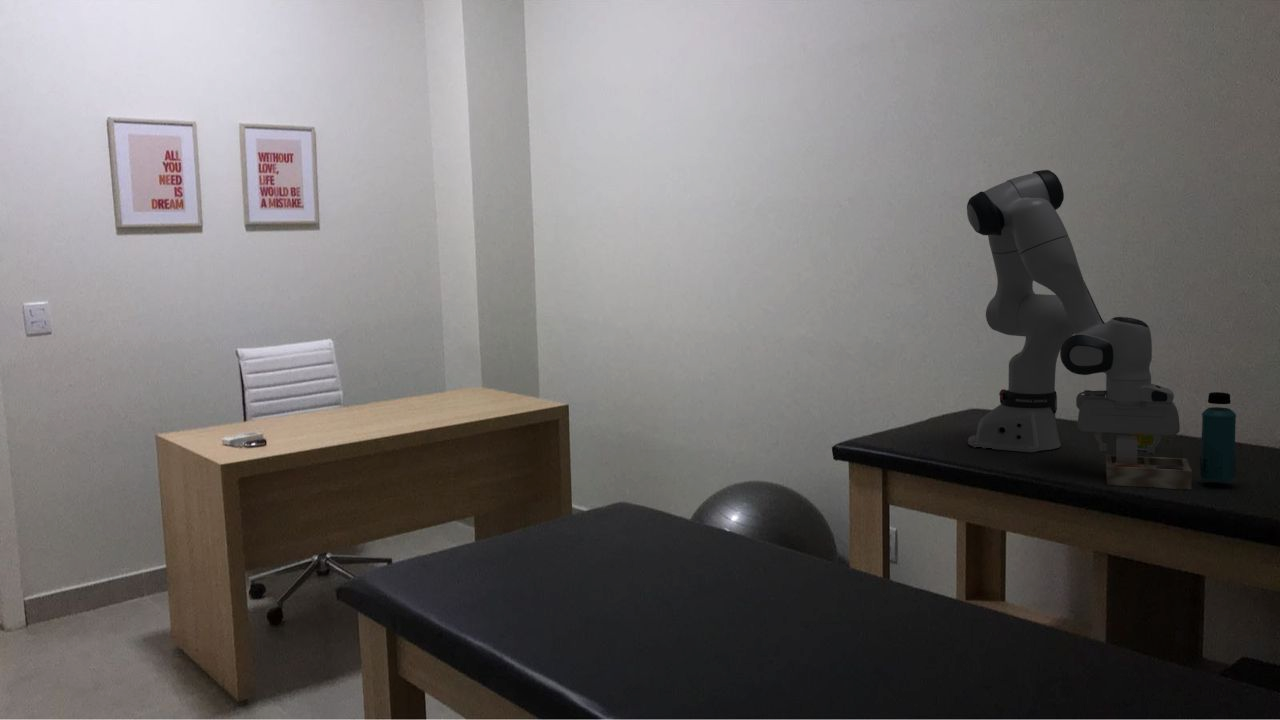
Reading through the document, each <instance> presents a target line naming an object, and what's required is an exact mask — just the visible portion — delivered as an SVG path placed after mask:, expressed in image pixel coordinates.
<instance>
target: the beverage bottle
mask: <svg viewBox="0 0 1280 720" xmlns="http://www.w3.org/2000/svg"><path fill="white" fill-rule="evenodd" d="M1207 403H1208V404H1213V405H1214V404H1215V405H1230V404H1231V394H1230V393H1229V392H1219V391H1218V392H1214V391H1213V392H1209V393H1208V397H1207ZM1201 416H1202V418H1201V420H1202V421H1201V423H1202V424H1201V430H1200V431H1201V436H1200V437H1201V438H1200V439H1201V445H1200V452H1199V453H1200V454H1201V455H1200V456H1199V462H1200V463H1199V466H1200V468H1199V470H1200V473H1199V475H1200V476H1201V479H1202V480H1205V481H1207V482H1208V481H1209V482H1215V483H1216V482H1217V483H1230V482H1233V481H1234V480H1235V473H1236V454H1237V452H1236V444H1237V443H1236V421H1237V420H1236V419H1237V414H1236V413H1235V412H1234V410H1233V409H1231V408H1228V407H1218V406H1217V407H1216V406H1214V407H1213V406H1211V407H1208V408H1206V409H1205V410H1204V411H1203V412H1201Z"/></svg>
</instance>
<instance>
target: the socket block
mask: <svg viewBox="0 0 1280 720" xmlns="http://www.w3.org/2000/svg"><path fill="white" fill-rule="evenodd" d="M1105 476H1106V485H1107V486H1122V487H1124V486H1125V487H1135V488H1136V487H1137V486H1138V488H1140V487H1141V488H1152V487H1153V489H1154V488H1157V489H1168V490H1169V489H1171V490H1173V489H1175V490H1185V489H1187V490H1188V491H1192V478H1193V471H1192V468H1191V466H1190V464H1189V462H1188V459H1187V458H1184V457H1183V458H1180V457H1179V458H1178V457H1161V456H1160V457H1159V456H1158V457H1157V456H1142V455H1141V456H1140V455H1139V456H1138V455H1137V464H1135V463H1116V454H1105ZM1187 490H1186V491H1187Z"/></svg>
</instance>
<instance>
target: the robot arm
mask: <svg viewBox="0 0 1280 720" xmlns="http://www.w3.org/2000/svg"><path fill="white" fill-rule="evenodd" d="M1064 199H1065V193H1064V188H1063V185H1062V182H1061V180H1060V178H1059V176H1058V175H1057V174H1056V173H1054V172H1053V171H1051V170H1050V169H1042V170H1035V171H1032V173H1028V174H1024V175H1020V176H1017V177H1014V178H1011V179H1008V180H1006V181H1004V182H1002V183H1000V184H997V185H994V186H992V187H991V188H988V189H986V190H985V191H980V192H977V193H976V194H974V195H973V196H971V197H970V198H969V199H968V202H967V203H966V212H967V213H966V214H967V219H968V222H969V224H970V226H971V227H972V228H973V230H974V231H975V232H976V233H977V234H980V235H982V236H987V237H988V243H989V248H990V251H991V255H992V261H993V263H994V268H995V273H996V278H997V279H996V280H997V285H996V286H997V287H996V292H995V294H994V296H993V297H992V299H990V301H989V303H988V304H987V306H986V311H985V319H986V323H987V324H988V326H989V328H990V329H992V330H993V331H995V332H998V333H1001V334H1004V335H1007V336H1013V337H1015V336H1016V337H1024V338H1025V341H1024V345H1023V347H1022V349H1021V351H1019V352H1017V353H1016V354H1014V355H1013V356H1012V357H1011V358H1010V360H1009V361H1008V389H1006V388H1005V389H1001V390H999V394H998V395H999V402H1000V403H999V405H997V406H996V407H994V408H993V409H992V410H990V411H989V412H988V413H986V414H984V415H983V416H982V417H981V419H980V420H979V422H978V425H977V428H976V434H973V435H970V436H969V437H968V439H967V444H969V445H971V446H973V447H972V448H976V447H982V448H981V449H986V448H992V449H991V450H998V451H1009V452H1011V451H1012V452H1021V453H1022V452H1023V453H1036V452H1039V451H1049V450H1055V449H1058V448H1060V447H1061V446H1062V444H1061V441H1060V437H1059V433H1058V428H1057V427H1058V426H1057V420H1056V418H1057V417H1056V414H1057V410H1058V395H1057V391H1056V390H1055V389H1056V388H1055V387H1056V367H1057V362H1058V357H1059V355H1060V361H1061V362H1062V364H1063V366H1064V367H1065V369H1067V371H1069V372H1071V373H1073V374H1075V375H1080V376H1089V375H1094V374H1100V373H1103V374H1105V377H1106V379H1105V380H1106V382H1105V390H1089V389H1088V390H1087V389H1086V390H1083V391H1081V392H1079V393H1078V394H1077V395H1076V397H1075V398H1076V400H1075V402H1076V403H1075V404H1076V405H1075V406H1076V408H1077V409H1078V414H1077V415H1078V416H1077V429H1078V430H1079V431H1080V432H1083V433H1094V439H1095V440H1096V442H1097V443H1098V445H1099V453H1107V452H1108V443H1105V442H1103V441H1102V433H1107V434H1108V433H1110V434H1130V435H1132V434H1150V435H1153V438H1154V442H1153V443H1152V444H1151V445H1147V451H1146V455H1151V456H1152V455H1153V456H1155V454H1156V453H1155V452H1156V448H1155V447H1157V446H1158V445H1159V443H1160V442H1161V439H1162V436H1177V435H1178V433H1180V432H1181V431H1180V426H1181V425H1180V416H1179V411H1178V409H1177V405H1176V404H1175V403H1174V402H1173V401H1174V399H1175V395H1174V391H1173V390H1171V389H1169V388H1168V387H1164V386H1161V385H1157V384H1156V383H1155V384H1154V383H1152V375H1151V371H1150V370H1151V369H1150V365H1151V362H1152V358H1153V357H1152V356H1153V347H1152V345H1153V344H1152V341H1153V340H1152V334H1151V329H1150V326H1149V325H1148V324H1147V323H1146V322H1145V321H1143V320H1140V319H1136V318H1133V317H1126V316H1125V317H1124V316H1115V317H1112V318H1111V319H1109V320H1108V321H1106V322H1105V321H1104V319H1103V318H1102V317H1101V314H1100V313H1099V310H1098V308H1097V306H1096V304H1095V301H1094V299H1093V297H1092V295H1091V293H1090V291H1089V288H1088V286H1087V284H1086V282H1085V280H1084V277H1083V274H1082V271H1081V269H1080V265H1079V262H1078V259H1077V254H1076V253H1075V250H1074V246H1073V244H1072V241H1071V239H1070V236H1069V233H1068V231H1067V229H1066V227H1065V225H1064V222H1063V221H1062V219H1061V217H1060V216H1059V214H1058V212H1057V210H1058V209H1059V208H1061V206H1062V204H1063V202H1064ZM1034 282H1035V283H1037V284H1039V285H1041V286H1043V287H1045V288H1046V289H1048V290H1050V291H1052V293H1053V294H1041V293H1039V294H1038V293H1035V291H1034V288H1033V287H1034V286H1033V283H1034ZM969 445H968V446H969ZM971 446H970V447H971Z"/></svg>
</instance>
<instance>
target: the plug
mask: <svg viewBox="0 0 1280 720" xmlns="http://www.w3.org/2000/svg"><path fill="white" fill-rule="evenodd" d="M1137 444H1138V440H1137V437H1133V436H1132V435H1131V436H1128V435H1116V448H1115V449H1116V454H1115V455H1116V463H1135V464H1137V456H1138V450H1137Z"/></svg>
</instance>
